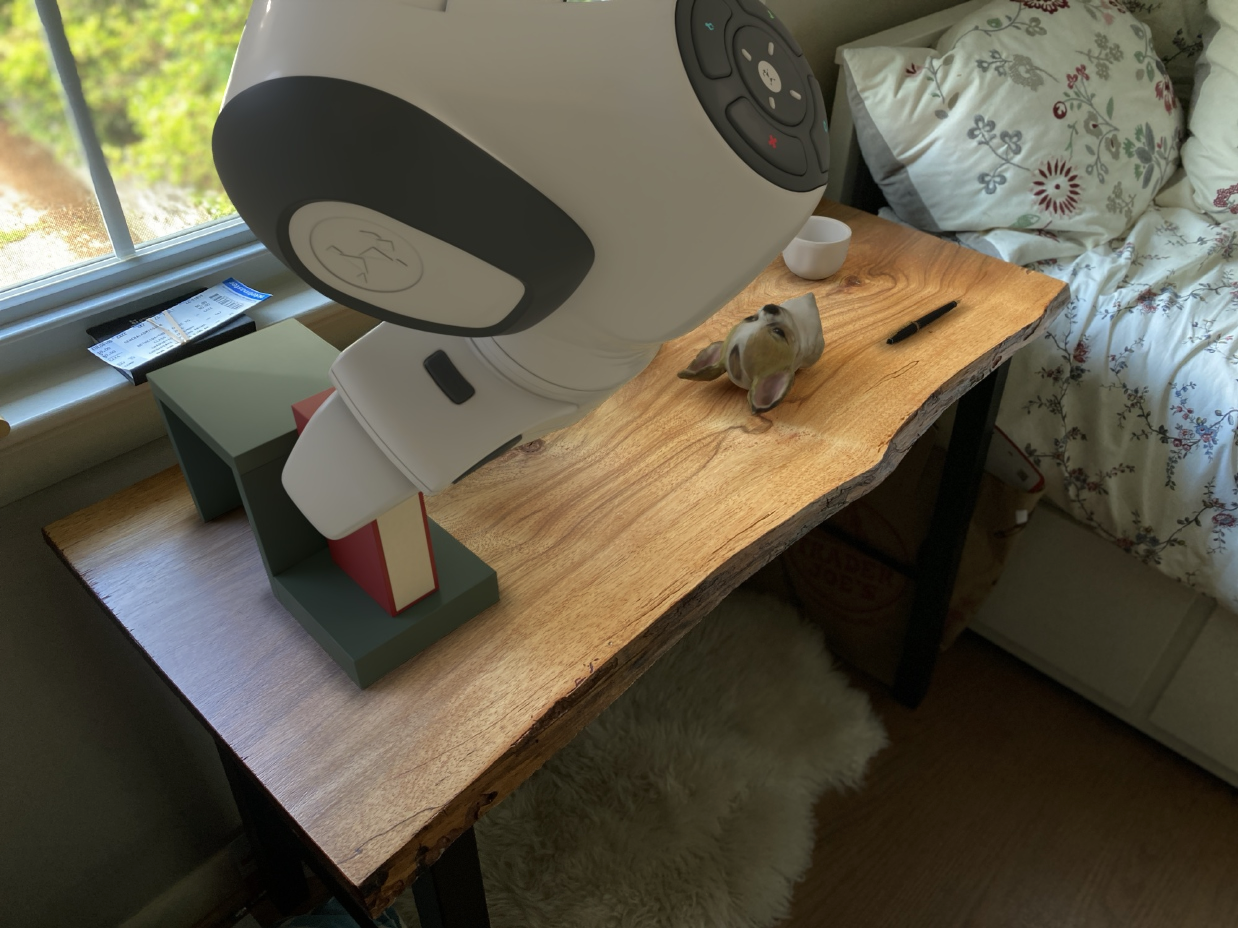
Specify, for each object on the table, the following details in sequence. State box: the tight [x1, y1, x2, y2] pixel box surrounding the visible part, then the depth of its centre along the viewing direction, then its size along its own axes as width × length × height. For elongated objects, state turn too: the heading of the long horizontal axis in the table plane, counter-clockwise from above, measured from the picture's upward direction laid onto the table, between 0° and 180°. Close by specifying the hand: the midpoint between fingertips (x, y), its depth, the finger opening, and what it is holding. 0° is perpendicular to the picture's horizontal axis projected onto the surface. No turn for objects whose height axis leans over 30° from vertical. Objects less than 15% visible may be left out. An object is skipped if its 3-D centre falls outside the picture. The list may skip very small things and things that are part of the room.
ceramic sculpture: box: [676, 292, 826, 416], centre depth 90 cm, size 11×9×15 cm
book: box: [291, 386, 439, 617], centre depth 64 cm, size 4×8×14 cm, turn 44°
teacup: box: [781, 215, 853, 281], centre depth 111 cm, size 10×8×5 cm
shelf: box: [145, 317, 501, 691], centre depth 69 cm, size 12×25×14 cm, turn 44°
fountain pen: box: [885, 298, 963, 346], centre depth 101 cm, size 14×1×2 cm, turn 132°
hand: (428, 439), depth 51 cm, fingers open, 8 cm apart
